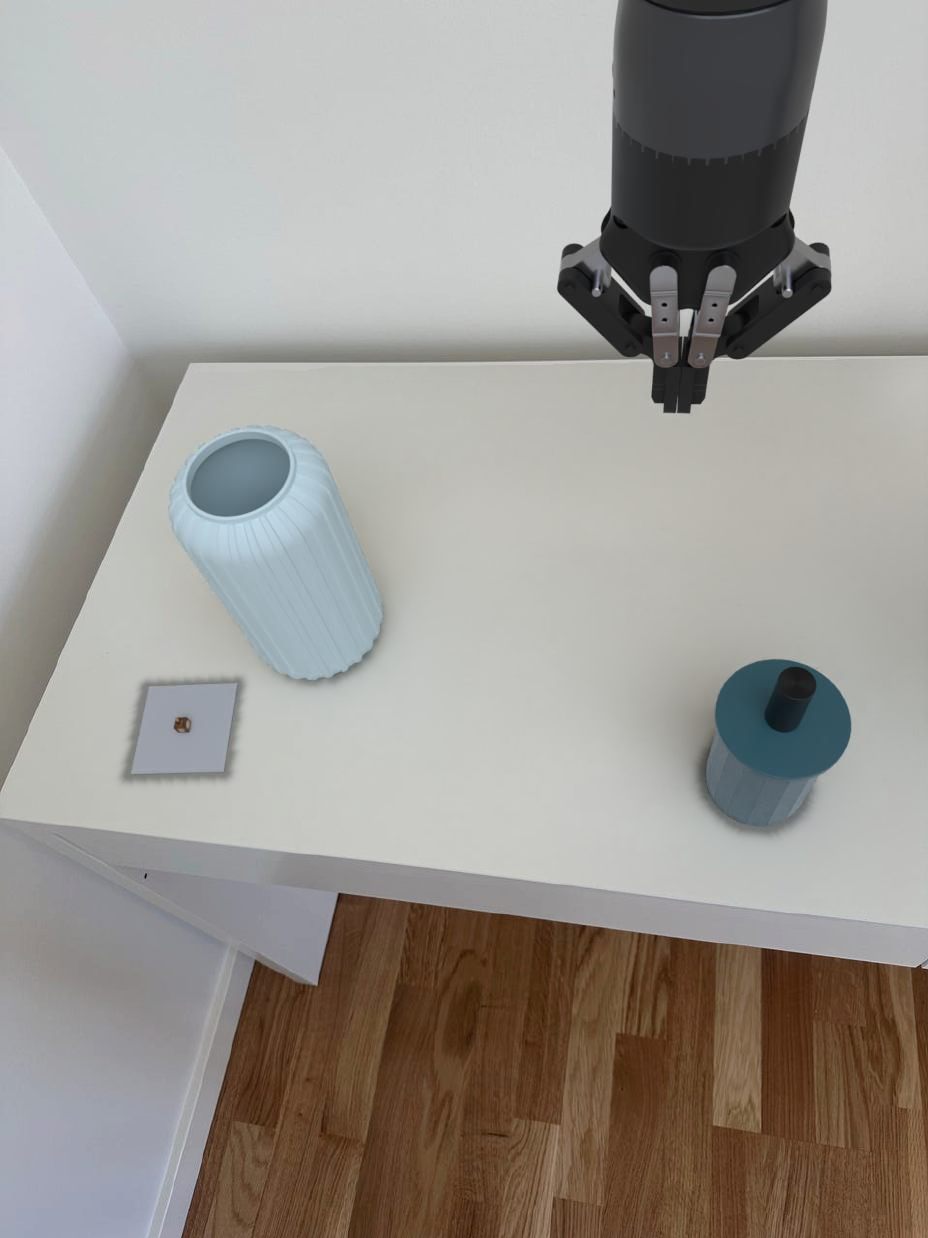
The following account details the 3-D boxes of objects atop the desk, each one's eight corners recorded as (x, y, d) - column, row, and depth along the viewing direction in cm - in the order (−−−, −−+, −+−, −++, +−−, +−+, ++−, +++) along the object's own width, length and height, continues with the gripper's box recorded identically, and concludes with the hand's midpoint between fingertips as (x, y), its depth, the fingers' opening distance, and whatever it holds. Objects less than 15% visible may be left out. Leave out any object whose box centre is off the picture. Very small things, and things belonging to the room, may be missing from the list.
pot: (804, 739, 70) (838, 672, 60) (806, 831, 66) (842, 777, 56) (706, 730, 71) (724, 664, 61) (704, 820, 68) (722, 766, 58)
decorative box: (223, 771, 75) (215, 763, 73) (130, 774, 76) (120, 766, 74) (237, 683, 79) (230, 673, 77) (149, 686, 80) (139, 676, 78)
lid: (843, 671, 60) (867, 626, 55) (850, 792, 57) (876, 755, 51) (714, 662, 62) (725, 617, 57) (712, 778, 58) (723, 742, 53)
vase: (321, 717, 76) (227, 575, 57) (234, 641, 81) (120, 486, 62) (416, 622, 79) (357, 458, 60) (327, 555, 84) (246, 382, 65)
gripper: (529, 155, 35) (550, 450, 50) (901, 146, 32) (805, 460, 47) (549, 41, 38) (563, 350, 53) (886, 26, 36) (802, 353, 51)
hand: (677, 401), depth 50 cm, fingers closed
